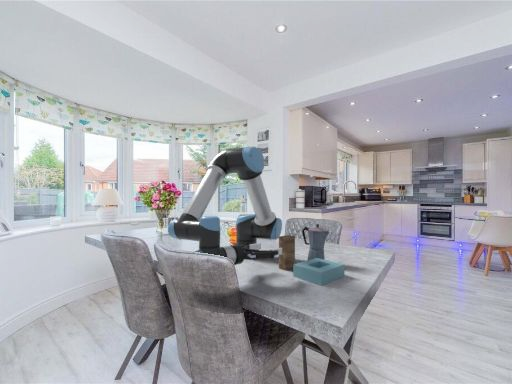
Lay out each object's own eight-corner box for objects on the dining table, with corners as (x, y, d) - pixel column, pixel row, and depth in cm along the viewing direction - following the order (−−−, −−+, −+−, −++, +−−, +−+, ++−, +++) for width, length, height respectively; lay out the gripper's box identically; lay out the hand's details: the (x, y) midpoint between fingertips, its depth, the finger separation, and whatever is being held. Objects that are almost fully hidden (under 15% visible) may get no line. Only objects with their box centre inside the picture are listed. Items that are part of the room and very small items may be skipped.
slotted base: (293, 276, 104) (293, 264, 104) (316, 268, 115) (316, 257, 115) (321, 285, 93) (321, 272, 93) (344, 276, 104) (344, 264, 104)
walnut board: (278, 268, 115) (278, 236, 115) (288, 265, 120) (288, 235, 120) (285, 270, 112) (285, 237, 112) (294, 267, 117) (294, 236, 117)
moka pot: (326, 268, 116) (326, 226, 116) (297, 262, 125) (297, 223, 125) (333, 263, 123) (333, 224, 123) (305, 258, 132) (305, 222, 133)
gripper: (214, 258, 104) (252, 251, 118) (251, 272, 85) (291, 262, 99) (214, 241, 104) (252, 236, 118) (251, 251, 85) (291, 244, 99)
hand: (270, 248), depth 109 cm, fingers open, 13 cm apart
